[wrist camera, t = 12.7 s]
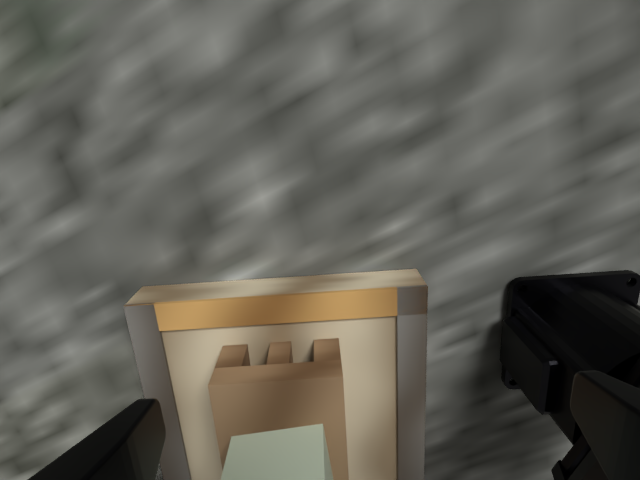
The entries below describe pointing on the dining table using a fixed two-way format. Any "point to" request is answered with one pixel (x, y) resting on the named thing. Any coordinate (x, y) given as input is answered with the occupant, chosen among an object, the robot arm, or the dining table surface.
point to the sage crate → (279, 455)
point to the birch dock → (301, 329)
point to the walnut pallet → (281, 396)
